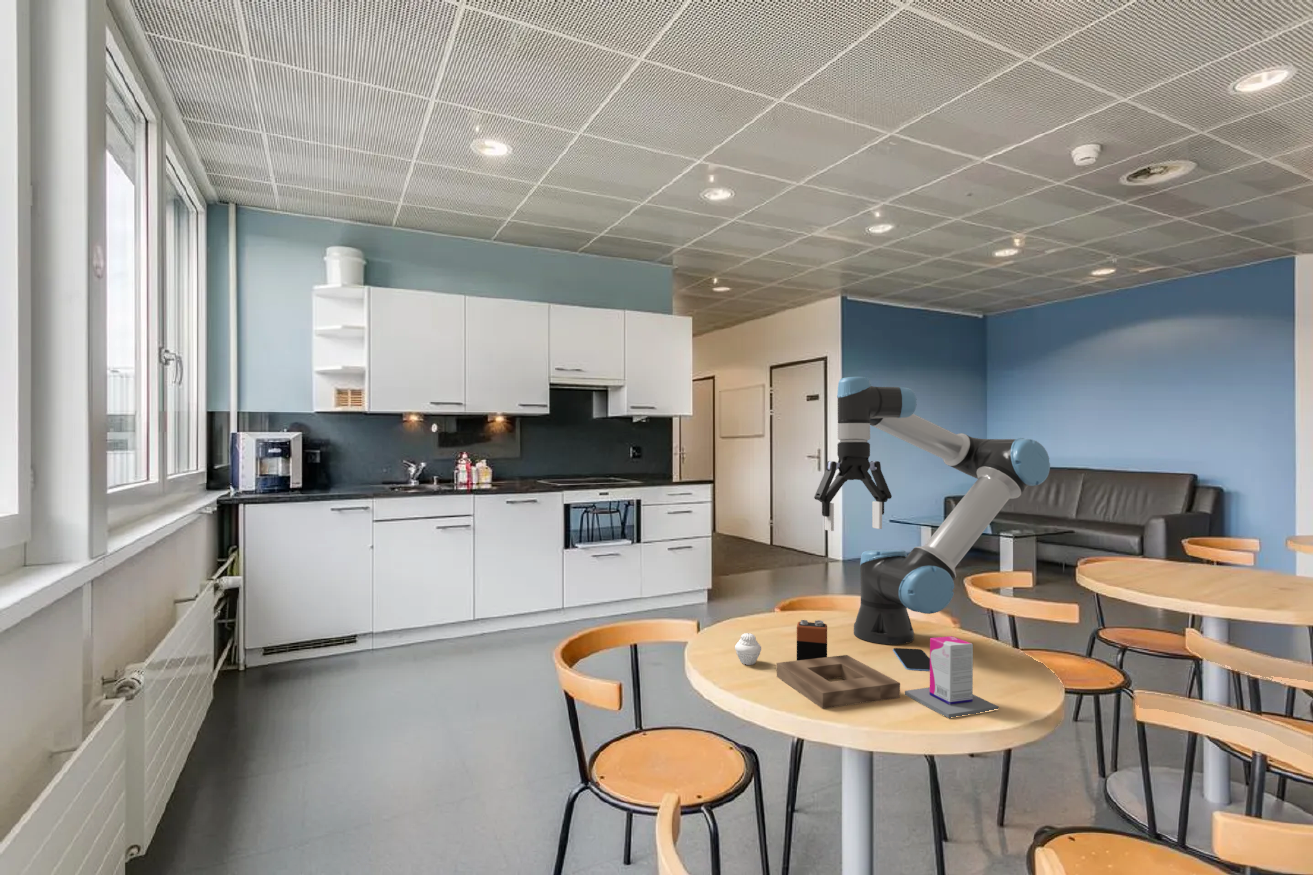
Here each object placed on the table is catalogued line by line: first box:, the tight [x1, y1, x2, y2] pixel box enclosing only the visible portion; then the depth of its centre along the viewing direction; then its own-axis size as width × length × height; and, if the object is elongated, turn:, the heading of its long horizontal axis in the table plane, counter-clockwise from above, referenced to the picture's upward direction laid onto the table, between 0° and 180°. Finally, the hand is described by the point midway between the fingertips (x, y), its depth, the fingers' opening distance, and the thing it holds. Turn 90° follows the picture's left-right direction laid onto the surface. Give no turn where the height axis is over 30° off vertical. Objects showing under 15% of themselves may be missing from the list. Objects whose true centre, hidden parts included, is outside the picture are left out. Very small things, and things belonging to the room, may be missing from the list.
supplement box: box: [929, 635, 974, 705], centre depth 127 cm, size 6×6×12 cm
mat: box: [904, 686, 999, 719], centre depth 127 cm, size 12×12×1 cm
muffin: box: [734, 632, 762, 666], centre depth 150 cm, size 6×6×7 cm
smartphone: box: [892, 647, 930, 672], centre depth 152 cm, size 7×1×15 cm
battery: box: [796, 619, 828, 661], centre depth 149 cm, size 4×7×10 cm, turn 74°
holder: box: [776, 654, 901, 710], centre depth 135 cm, size 18×18×3 cm
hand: (853, 529), depth 154 cm, fingers open, 13 cm apart
